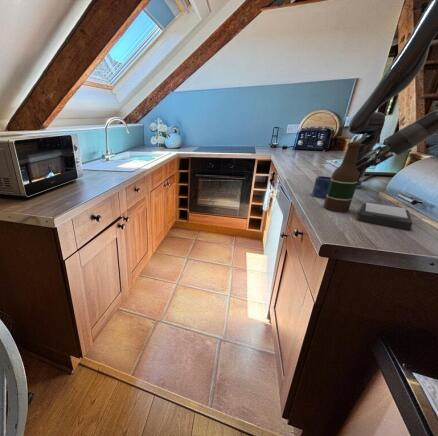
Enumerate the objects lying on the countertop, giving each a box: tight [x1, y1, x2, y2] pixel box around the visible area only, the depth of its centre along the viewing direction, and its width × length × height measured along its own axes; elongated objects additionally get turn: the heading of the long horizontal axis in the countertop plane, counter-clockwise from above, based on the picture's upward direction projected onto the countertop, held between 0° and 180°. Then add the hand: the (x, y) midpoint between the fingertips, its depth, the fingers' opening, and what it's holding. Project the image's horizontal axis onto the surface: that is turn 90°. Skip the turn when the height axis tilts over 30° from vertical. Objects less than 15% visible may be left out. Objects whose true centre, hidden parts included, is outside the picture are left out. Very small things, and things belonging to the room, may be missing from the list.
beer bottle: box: [323, 141, 361, 213], centre depth 87 cm, size 8×8×24 cm
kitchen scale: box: [358, 202, 413, 231], centre depth 81 cm, size 14×12×3 cm
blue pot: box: [311, 175, 332, 199], centre depth 104 cm, size 6×6×8 cm
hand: (355, 168), depth 97 cm, fingers open, 8 cm apart
